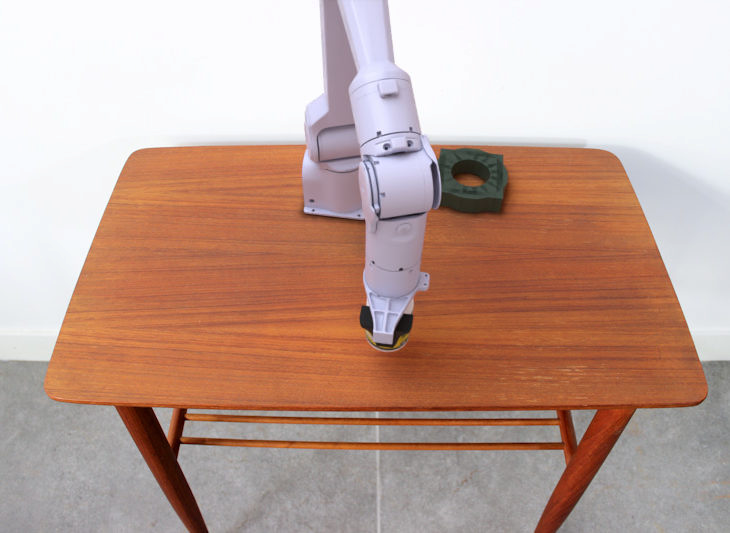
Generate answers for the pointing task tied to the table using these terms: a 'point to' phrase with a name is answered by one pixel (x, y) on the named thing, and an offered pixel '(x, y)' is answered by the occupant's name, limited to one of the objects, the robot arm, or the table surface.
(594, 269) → the table surface
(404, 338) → the supplement bottle
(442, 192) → the holder
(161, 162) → the table surface
